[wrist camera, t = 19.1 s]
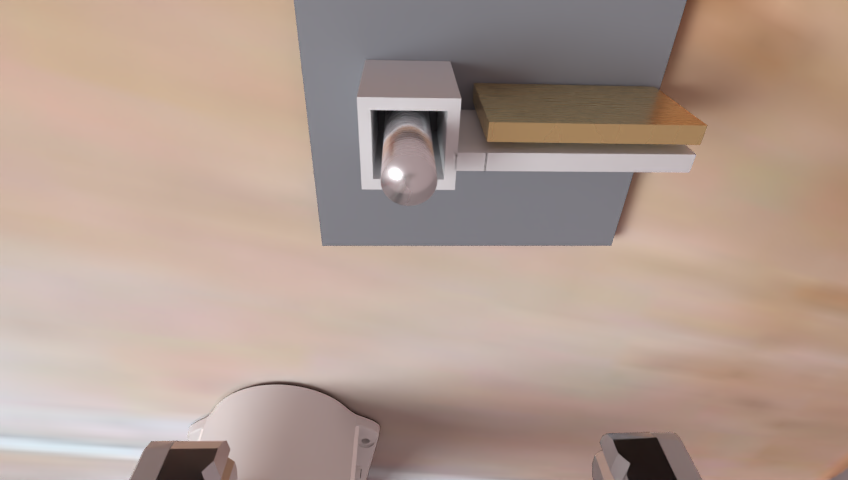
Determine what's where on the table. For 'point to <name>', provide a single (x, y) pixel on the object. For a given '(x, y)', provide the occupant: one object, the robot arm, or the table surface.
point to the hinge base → (475, 115)
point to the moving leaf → (583, 115)
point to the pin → (408, 157)
